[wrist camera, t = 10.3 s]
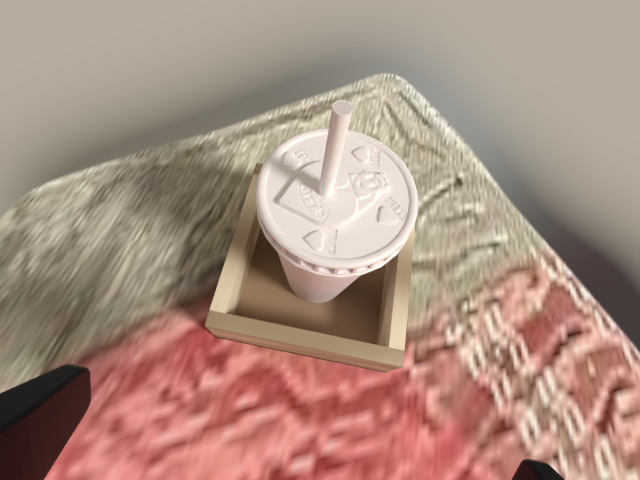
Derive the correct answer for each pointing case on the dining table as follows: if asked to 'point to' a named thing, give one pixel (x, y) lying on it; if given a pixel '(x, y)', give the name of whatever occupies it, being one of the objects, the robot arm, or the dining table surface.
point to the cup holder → (309, 304)
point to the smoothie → (334, 206)
